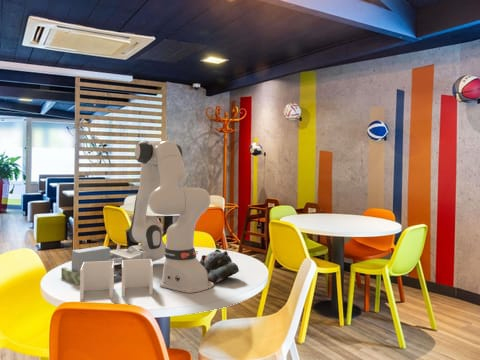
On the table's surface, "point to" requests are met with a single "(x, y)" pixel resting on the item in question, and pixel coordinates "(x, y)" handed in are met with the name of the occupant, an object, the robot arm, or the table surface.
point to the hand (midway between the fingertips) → (107, 260)
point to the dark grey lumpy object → (218, 266)
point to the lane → (77, 274)
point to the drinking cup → (129, 241)
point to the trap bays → (118, 277)
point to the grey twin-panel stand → (103, 275)
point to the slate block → (89, 256)
